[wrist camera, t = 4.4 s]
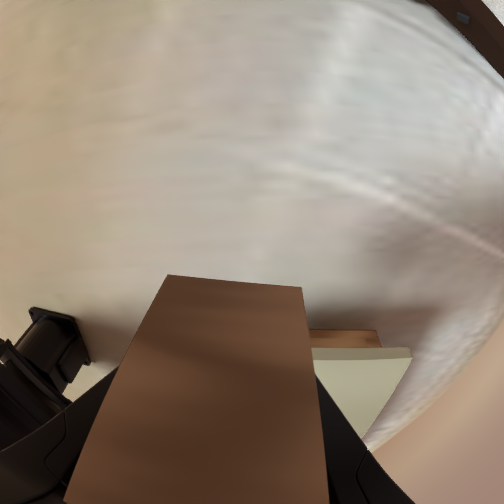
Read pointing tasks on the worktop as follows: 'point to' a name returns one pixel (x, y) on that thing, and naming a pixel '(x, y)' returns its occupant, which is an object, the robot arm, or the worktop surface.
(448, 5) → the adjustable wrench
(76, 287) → the worktop surface
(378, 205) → the worktop surface
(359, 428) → the lid
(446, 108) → the worktop surface
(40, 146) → the worktop surface
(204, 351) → the brown stepped square block
